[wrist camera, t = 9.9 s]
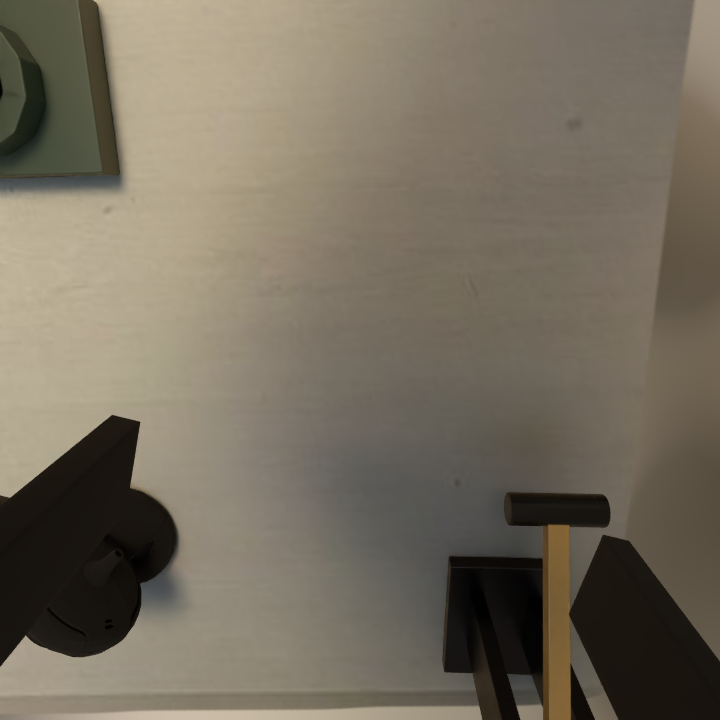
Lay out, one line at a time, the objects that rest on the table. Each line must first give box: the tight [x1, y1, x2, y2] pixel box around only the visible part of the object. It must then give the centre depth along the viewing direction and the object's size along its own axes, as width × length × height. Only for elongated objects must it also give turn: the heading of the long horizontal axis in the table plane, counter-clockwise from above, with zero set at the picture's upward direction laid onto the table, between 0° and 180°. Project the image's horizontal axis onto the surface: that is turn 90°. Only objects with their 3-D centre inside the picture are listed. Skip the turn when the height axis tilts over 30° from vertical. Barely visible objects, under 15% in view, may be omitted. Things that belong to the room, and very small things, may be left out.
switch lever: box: [504, 492, 610, 720], centre depth 29 cm, size 16×5×2 cm, turn 179°
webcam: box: [26, 489, 175, 657], centre depth 35 cm, size 8×8×10 cm
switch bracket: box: [442, 557, 595, 720], centre depth 34 cm, size 9×8×15 cm
